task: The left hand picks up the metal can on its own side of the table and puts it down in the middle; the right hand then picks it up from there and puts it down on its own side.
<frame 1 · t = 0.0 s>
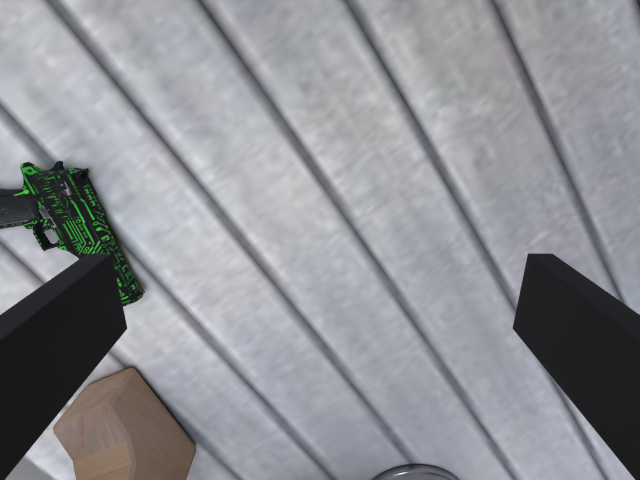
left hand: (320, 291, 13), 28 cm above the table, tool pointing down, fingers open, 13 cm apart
handgun: (60, 236, 42), on the table
decorative block: (144, 415, 51), on the table
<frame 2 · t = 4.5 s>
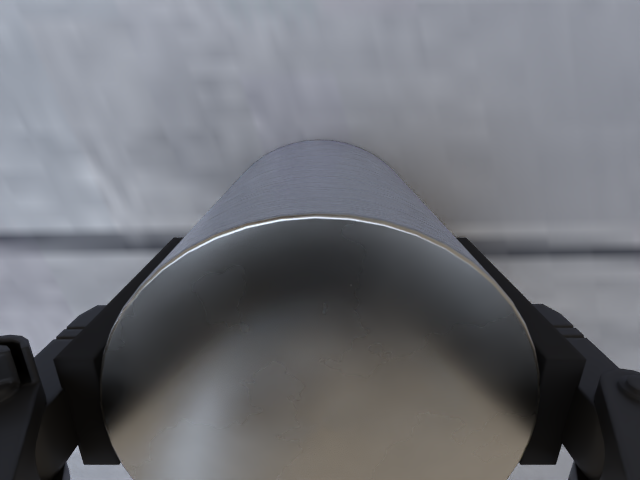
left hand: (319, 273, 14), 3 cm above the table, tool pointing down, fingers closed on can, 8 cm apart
can: (319, 240, 17), on the table, touching left hand
when the left hand's fingers open (5 cm above the table, at t = 10.6 s): can drops 2 cm, on the table.
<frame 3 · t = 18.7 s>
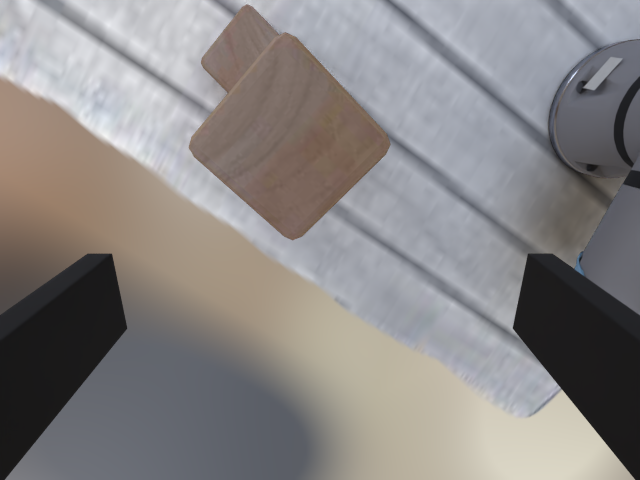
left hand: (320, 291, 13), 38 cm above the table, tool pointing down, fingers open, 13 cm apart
decorative block: (284, 90, 46), on the table
when the right hand's fingers open (5 cm above the table, at t = 29.7 s): can drops 2 cm, on the table.
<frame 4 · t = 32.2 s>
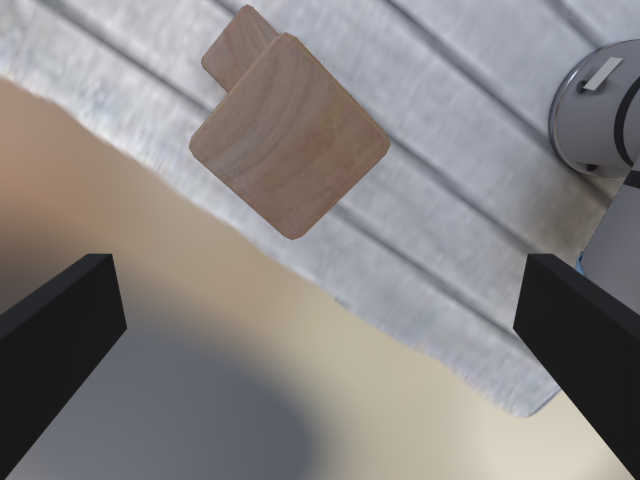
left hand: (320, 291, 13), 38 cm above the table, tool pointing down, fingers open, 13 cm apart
decorative block: (284, 90, 46), on the table
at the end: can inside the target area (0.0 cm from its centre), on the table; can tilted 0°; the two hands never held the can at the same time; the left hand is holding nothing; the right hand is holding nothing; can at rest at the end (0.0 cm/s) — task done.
